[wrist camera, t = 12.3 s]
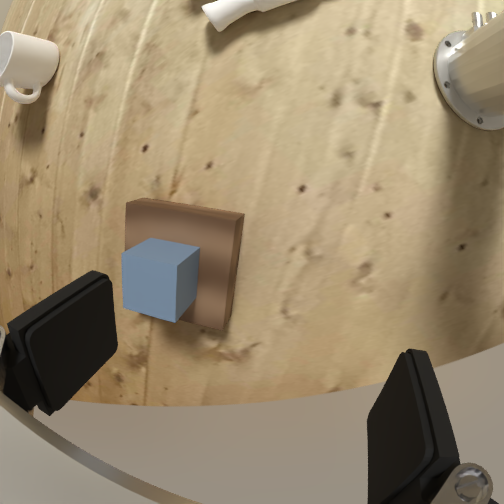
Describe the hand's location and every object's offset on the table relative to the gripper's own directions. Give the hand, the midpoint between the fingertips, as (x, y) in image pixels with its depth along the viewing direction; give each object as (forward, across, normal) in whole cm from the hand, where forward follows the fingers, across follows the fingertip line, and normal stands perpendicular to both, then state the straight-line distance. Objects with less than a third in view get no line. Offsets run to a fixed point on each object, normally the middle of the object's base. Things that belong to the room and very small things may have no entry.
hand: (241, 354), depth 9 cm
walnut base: (+26, +13, +9) cm, 30 cm away
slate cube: (+22, +13, +9) cm, 27 cm away
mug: (+26, +42, -15) cm, 51 cm away
